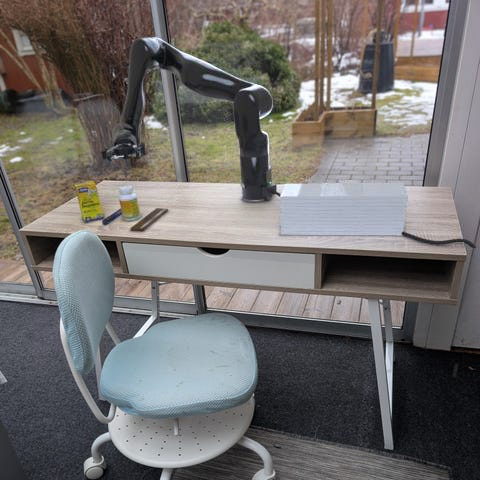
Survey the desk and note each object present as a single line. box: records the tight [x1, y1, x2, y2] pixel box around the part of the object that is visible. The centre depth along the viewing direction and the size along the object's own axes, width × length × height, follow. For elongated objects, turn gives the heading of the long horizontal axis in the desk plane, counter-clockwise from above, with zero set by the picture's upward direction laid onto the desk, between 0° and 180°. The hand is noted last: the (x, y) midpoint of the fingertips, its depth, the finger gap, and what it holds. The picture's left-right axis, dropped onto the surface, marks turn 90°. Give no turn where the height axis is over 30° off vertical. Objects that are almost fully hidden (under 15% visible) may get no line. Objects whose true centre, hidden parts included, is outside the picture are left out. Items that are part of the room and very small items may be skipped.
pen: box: [101, 207, 122, 226], centre depth 150 cm, size 15×2×2 cm, turn 161°
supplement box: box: [73, 180, 105, 223], centre depth 149 cm, size 6×6×11 cm
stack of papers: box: [279, 181, 409, 237], centre depth 128 cm, size 32×11×11 cm, turn 80°
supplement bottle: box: [118, 185, 141, 222], centre depth 147 cm, size 5×5×10 cm
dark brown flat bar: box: [130, 207, 169, 233], centre depth 146 cm, size 17×4×1 cm, turn 161°
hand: (123, 156), depth 149 cm, fingers open, 8 cm apart
